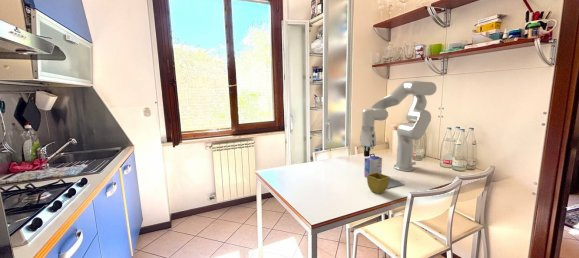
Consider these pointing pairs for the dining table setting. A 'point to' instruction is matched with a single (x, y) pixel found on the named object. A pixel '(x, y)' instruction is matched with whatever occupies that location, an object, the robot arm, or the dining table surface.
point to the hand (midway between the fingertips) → (366, 156)
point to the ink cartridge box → (373, 165)
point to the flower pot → (377, 182)
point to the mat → (394, 183)
